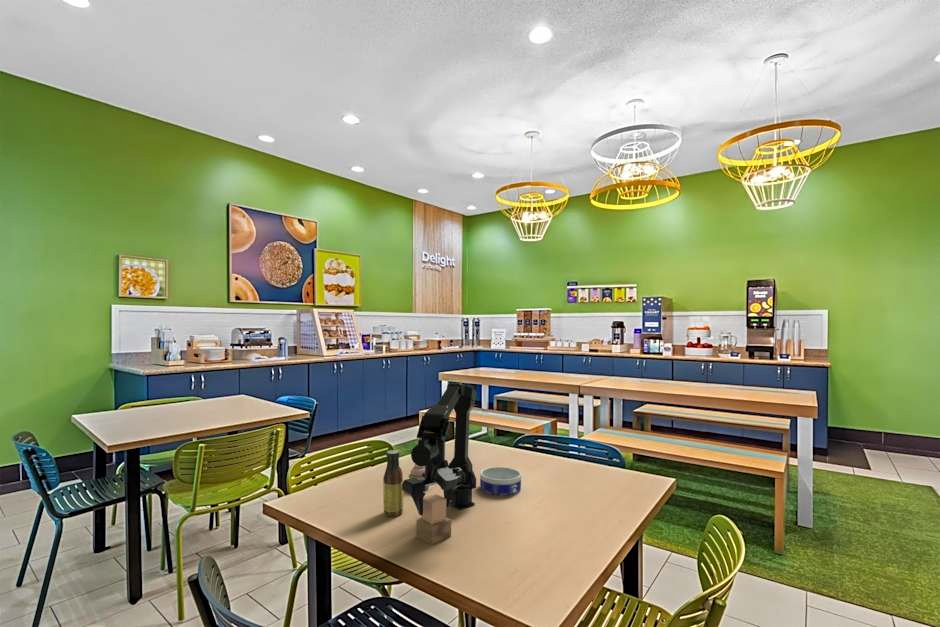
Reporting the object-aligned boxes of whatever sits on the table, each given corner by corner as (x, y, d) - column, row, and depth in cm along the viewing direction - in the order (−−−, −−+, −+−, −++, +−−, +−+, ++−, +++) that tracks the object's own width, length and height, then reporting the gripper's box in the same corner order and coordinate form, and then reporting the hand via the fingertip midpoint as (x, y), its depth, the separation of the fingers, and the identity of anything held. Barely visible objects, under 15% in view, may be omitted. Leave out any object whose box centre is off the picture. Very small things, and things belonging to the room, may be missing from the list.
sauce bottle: (394, 508, 152) (395, 447, 152) (407, 513, 148) (408, 450, 148) (378, 514, 147) (379, 451, 147) (391, 519, 143) (392, 455, 143)
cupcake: (434, 484, 175) (435, 457, 175) (430, 493, 166) (430, 465, 166) (410, 483, 176) (411, 456, 176) (405, 491, 167) (405, 464, 167)
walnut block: (435, 529, 137) (435, 512, 137) (451, 537, 132) (451, 519, 132) (416, 536, 132) (416, 519, 132) (432, 545, 127) (432, 527, 127)
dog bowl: (506, 500, 161) (506, 482, 161) (471, 490, 170) (471, 473, 170) (528, 488, 173) (528, 471, 173) (494, 479, 182) (495, 464, 182)
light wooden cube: (435, 514, 135) (435, 493, 136) (446, 520, 132) (446, 498, 132) (421, 518, 132) (421, 497, 132) (431, 524, 128) (432, 503, 129)
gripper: (424, 469, 120) (423, 529, 120) (477, 457, 132) (477, 511, 132) (401, 459, 129) (400, 515, 128) (453, 448, 141) (453, 500, 140)
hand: (434, 511), depth 132 cm, fingers open, 9 cm apart
